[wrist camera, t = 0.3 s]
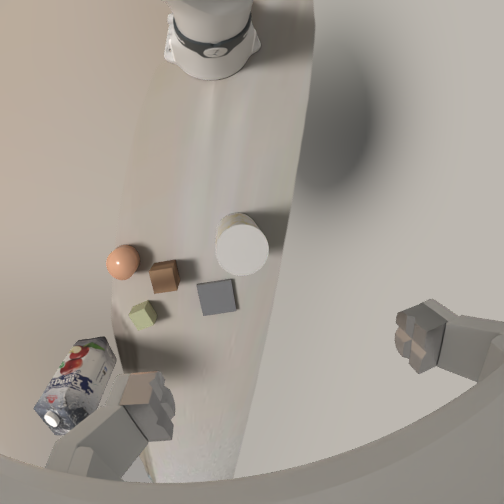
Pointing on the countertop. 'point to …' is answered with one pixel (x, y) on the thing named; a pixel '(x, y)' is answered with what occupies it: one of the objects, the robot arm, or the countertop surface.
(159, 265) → the walnut block
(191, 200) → the countertop surface
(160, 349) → the countertop surface
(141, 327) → the olive block
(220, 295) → the slate coaster
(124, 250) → the peach glossy ball
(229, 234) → the cup
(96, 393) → the juice carton
